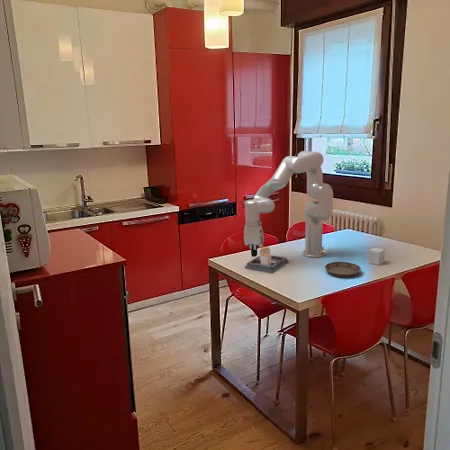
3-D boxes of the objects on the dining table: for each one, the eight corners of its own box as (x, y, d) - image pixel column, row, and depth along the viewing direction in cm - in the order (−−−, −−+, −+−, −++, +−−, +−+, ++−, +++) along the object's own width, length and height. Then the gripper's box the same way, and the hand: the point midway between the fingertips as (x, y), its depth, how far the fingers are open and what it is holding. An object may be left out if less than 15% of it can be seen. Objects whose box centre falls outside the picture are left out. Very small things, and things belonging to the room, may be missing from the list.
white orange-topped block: (270, 258, 241) (269, 247, 240) (266, 260, 238) (266, 249, 236) (263, 257, 244) (263, 246, 242) (259, 259, 240) (259, 248, 238)
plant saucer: (361, 280, 210) (361, 274, 209) (323, 277, 215) (323, 272, 214) (360, 268, 226) (360, 262, 226) (325, 266, 231) (325, 260, 230)
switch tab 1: (271, 265, 230) (271, 253, 229) (267, 267, 226) (267, 256, 225) (264, 264, 232) (264, 252, 231) (260, 266, 229) (260, 255, 227)
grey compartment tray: (288, 262, 239) (288, 257, 238) (272, 273, 222) (271, 267, 222) (262, 258, 247) (262, 253, 246) (245, 268, 231) (245, 263, 230)
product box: (384, 262, 233) (385, 249, 231) (378, 265, 229) (379, 252, 227) (374, 260, 237) (374, 247, 236) (368, 262, 233) (368, 249, 232)
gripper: (268, 222, 227) (269, 255, 232) (244, 220, 235) (245, 252, 240) (261, 226, 221) (263, 260, 226) (237, 223, 229) (238, 256, 234)
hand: (254, 256), depth 233 cm, fingers closed
